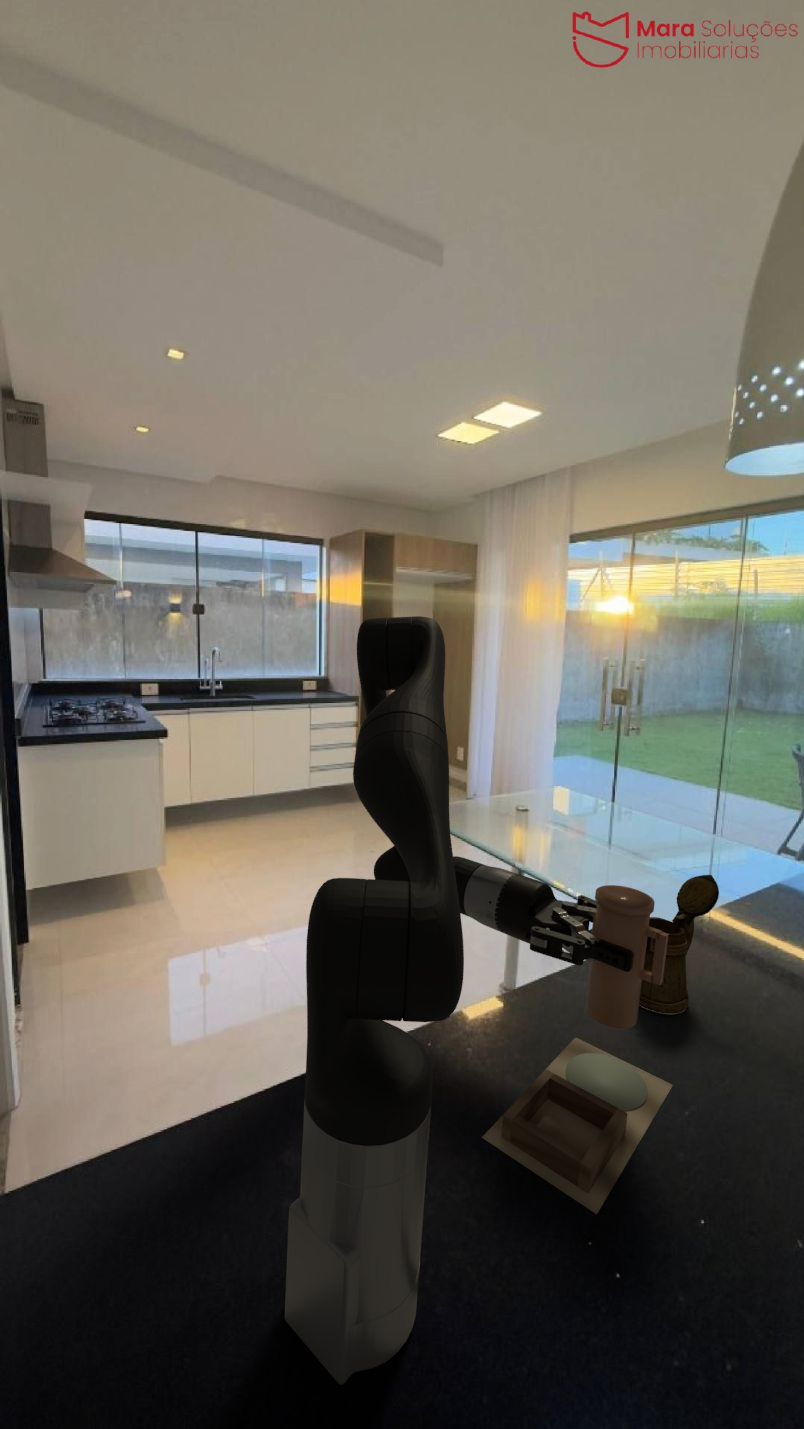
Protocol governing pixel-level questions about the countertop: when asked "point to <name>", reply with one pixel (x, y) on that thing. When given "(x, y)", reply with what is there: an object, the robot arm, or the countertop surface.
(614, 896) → the tall brown tankard
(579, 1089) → the board
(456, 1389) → the countertop surface
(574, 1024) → the countertop surface
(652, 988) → the wooden mug
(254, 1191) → the countertop surface
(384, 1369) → the countertop surface
